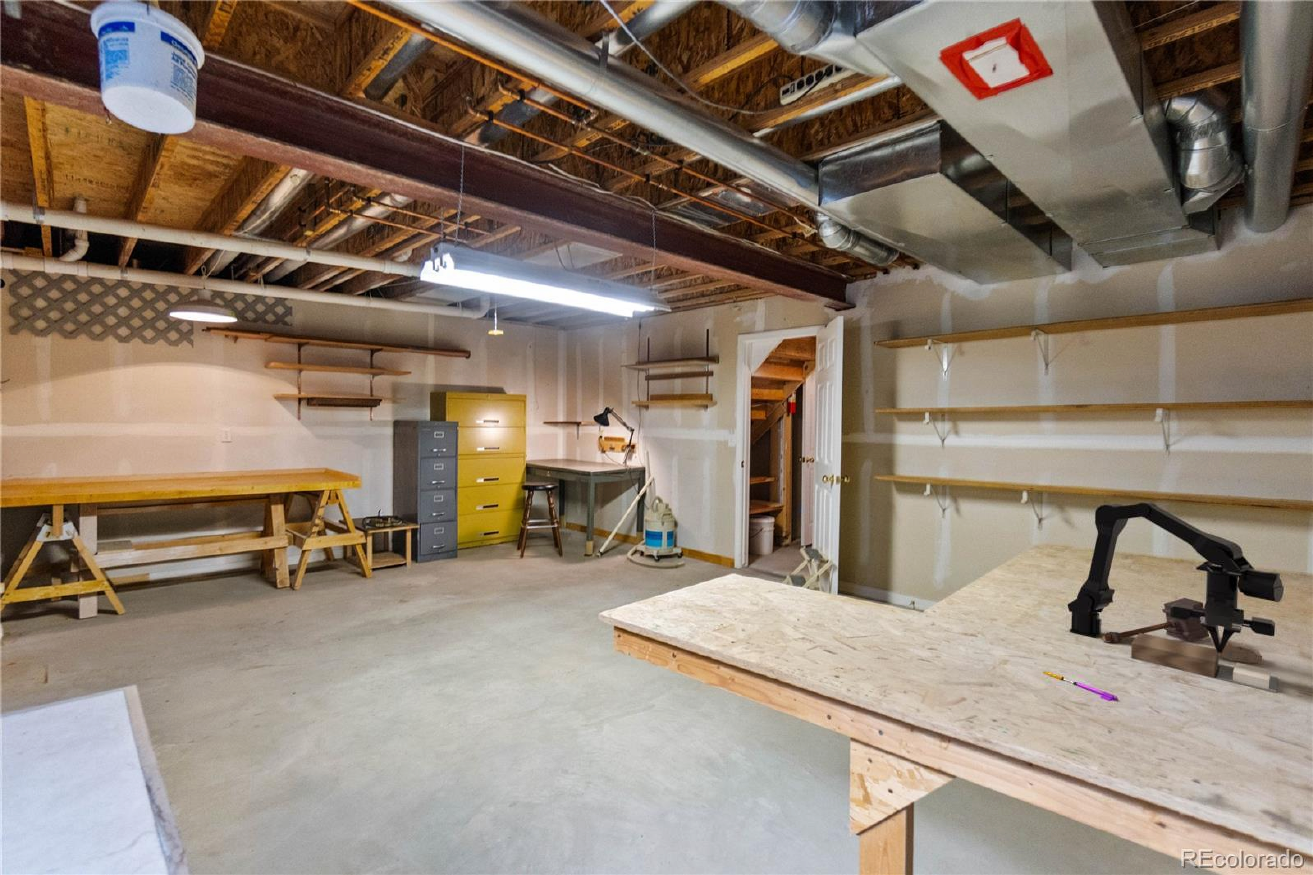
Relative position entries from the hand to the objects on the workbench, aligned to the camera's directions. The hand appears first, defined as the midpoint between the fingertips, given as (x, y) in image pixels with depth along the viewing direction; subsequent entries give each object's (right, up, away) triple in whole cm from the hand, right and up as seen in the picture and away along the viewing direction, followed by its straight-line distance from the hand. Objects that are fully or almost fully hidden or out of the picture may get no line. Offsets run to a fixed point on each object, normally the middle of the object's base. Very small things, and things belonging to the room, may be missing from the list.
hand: (1219, 652), depth 147 cm
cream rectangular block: (+3, -3, -5) cm, 6 cm away
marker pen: (-43, -5, -9) cm, 44 cm away
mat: (+3, -5, -4) cm, 7 cm away
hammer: (+2, -5, +22) cm, 23 cm away
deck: (-6, -5, +6) cm, 10 cm away
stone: (+13, -5, +10) cm, 18 cm away
